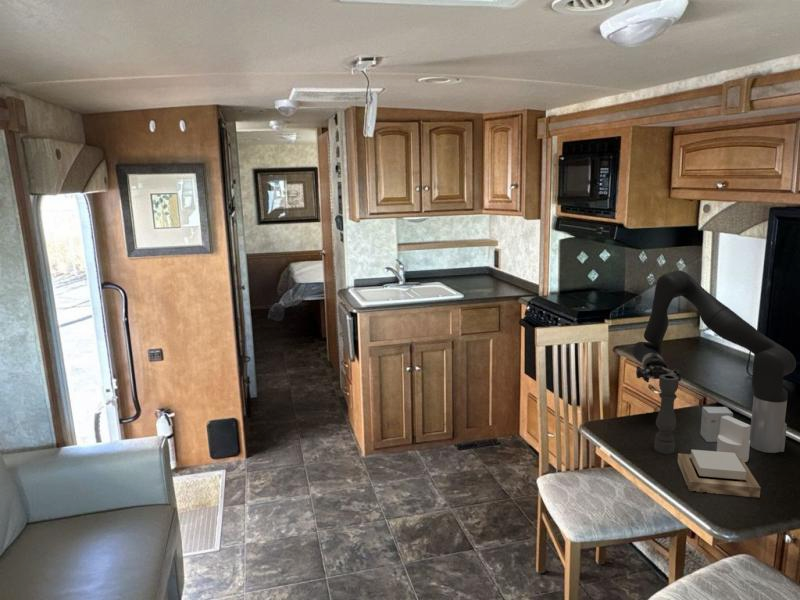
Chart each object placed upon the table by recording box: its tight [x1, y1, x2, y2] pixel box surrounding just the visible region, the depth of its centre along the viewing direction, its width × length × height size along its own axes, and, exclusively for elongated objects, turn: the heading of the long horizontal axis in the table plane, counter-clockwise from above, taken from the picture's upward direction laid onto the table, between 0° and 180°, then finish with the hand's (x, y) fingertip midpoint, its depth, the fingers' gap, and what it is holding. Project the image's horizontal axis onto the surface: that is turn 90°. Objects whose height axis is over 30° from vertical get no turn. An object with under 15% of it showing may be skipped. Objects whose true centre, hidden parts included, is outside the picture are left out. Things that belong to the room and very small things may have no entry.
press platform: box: [690, 449, 746, 480], centre depth 179 cm, size 12×12×2 cm
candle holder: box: [653, 374, 680, 455], centre depth 197 cm, size 6×6×25 cm
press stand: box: [677, 452, 762, 499], centre depth 179 cm, size 18×18×3 cm
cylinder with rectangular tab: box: [716, 416, 751, 464], centre depth 192 cm, size 9×9×12 cm
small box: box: [700, 406, 734, 443], centre depth 205 cm, size 8×6×10 cm
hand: (661, 380), depth 207 cm, fingers open, 8 cm apart
